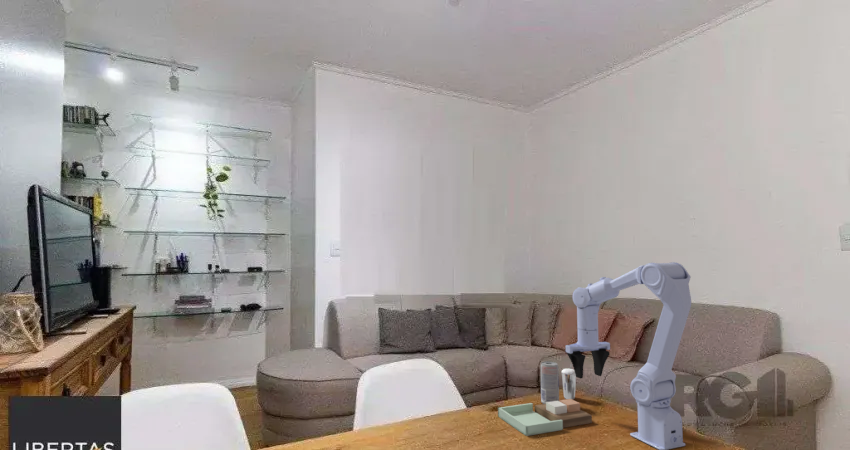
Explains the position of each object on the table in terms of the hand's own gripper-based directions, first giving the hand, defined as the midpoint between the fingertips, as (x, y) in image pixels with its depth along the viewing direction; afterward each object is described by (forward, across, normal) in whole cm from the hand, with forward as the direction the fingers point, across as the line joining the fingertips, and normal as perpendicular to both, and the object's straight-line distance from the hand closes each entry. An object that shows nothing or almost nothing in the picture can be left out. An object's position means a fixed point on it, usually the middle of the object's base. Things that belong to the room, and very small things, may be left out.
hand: (588, 376), depth 127 cm
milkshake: (+11, -4, -13) cm, 17 cm away
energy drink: (+11, +6, -11) cm, 16 cm away
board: (+10, +10, 0) cm, 14 cm away
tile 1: (+8, +12, 0) cm, 14 cm away
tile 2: (+8, +7, 0) cm, 11 cm away
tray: (+10, +20, 0) cm, 23 cm away
